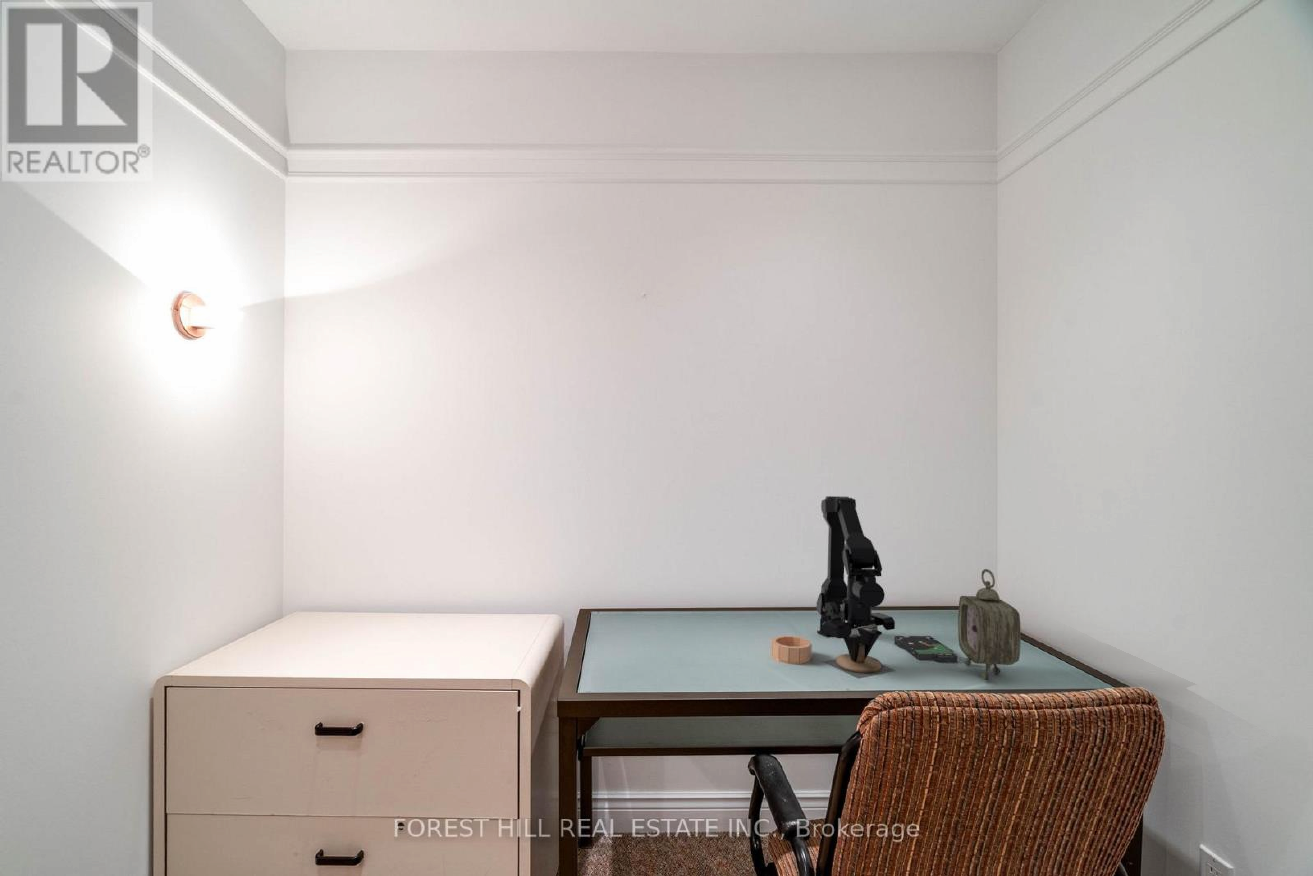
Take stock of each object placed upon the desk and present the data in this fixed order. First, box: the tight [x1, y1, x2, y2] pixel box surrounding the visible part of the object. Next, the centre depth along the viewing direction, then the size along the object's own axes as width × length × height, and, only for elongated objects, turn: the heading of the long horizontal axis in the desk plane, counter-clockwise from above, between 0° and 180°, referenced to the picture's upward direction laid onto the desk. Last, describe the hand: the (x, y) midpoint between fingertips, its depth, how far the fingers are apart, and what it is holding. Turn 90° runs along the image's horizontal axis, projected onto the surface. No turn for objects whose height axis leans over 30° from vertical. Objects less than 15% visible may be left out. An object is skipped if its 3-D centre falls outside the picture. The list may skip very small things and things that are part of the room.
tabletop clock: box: [957, 568, 1021, 682], centre depth 154 cm, size 14×9×25 cm, turn 174°
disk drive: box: [894, 635, 958, 663], centre depth 168 cm, size 10×3×15 cm
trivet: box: [822, 658, 896, 679], centre depth 156 cm, size 12×12×1 cm
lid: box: [835, 643, 882, 673], centre depth 156 cm, size 10×10×5 cm
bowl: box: [770, 635, 813, 665], centre depth 162 cm, size 10×10×4 cm
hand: (858, 660), depth 156 cm, fingers closed on lid, 3 cm apart
